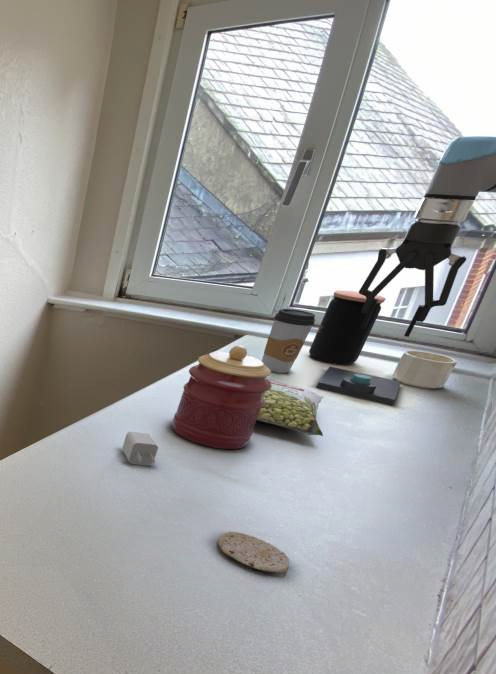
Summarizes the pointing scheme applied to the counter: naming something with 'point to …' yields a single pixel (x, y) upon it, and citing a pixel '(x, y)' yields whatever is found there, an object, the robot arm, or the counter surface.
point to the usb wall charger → (140, 448)
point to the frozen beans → (291, 408)
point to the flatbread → (253, 552)
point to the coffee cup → (286, 339)
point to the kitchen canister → (222, 399)
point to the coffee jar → (343, 329)
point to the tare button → (361, 379)
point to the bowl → (424, 369)
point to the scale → (360, 386)
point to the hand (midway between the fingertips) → (384, 331)
